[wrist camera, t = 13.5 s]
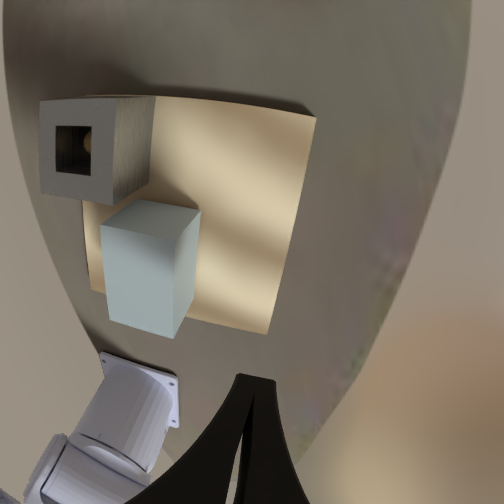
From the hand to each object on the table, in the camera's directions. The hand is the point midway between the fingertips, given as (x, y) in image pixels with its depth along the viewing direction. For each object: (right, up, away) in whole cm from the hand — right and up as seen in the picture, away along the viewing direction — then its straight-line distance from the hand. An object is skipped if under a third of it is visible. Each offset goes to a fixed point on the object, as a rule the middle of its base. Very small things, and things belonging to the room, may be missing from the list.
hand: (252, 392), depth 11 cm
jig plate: (-4, +7, +8) cm, 12 cm away
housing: (-5, +5, +8) cm, 11 cm away
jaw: (-8, +12, +5) cm, 15 cm away
